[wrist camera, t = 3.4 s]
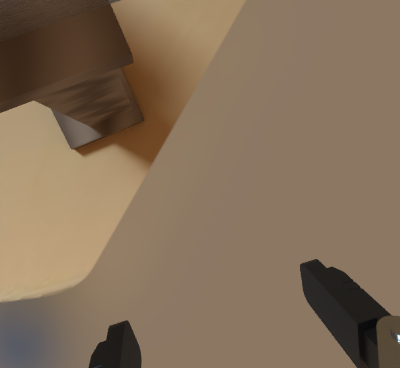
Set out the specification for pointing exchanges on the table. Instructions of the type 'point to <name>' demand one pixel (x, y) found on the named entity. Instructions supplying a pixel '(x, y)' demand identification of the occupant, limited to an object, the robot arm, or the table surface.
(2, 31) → the beige long bar
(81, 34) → the walnut stand
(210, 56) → the table surface
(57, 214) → the table surface
